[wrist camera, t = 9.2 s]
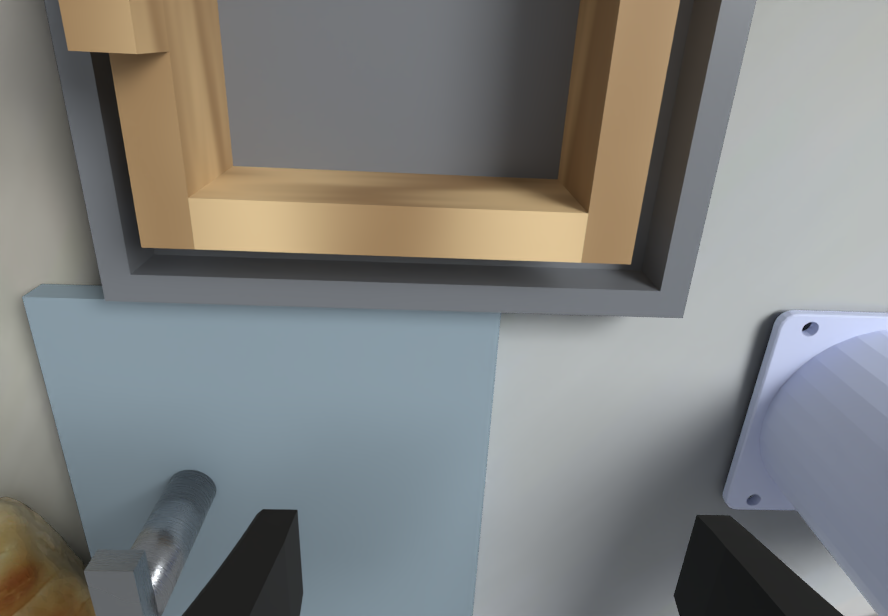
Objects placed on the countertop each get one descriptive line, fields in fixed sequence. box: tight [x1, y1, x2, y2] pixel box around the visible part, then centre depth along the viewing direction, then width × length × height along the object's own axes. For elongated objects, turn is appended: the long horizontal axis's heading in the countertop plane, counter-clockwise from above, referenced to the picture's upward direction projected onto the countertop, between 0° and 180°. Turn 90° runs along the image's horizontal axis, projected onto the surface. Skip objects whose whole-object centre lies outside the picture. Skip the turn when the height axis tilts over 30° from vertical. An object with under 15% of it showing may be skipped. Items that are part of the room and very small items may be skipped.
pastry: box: [0, 497, 96, 616], centre depth 22 cm, size 9×7×4 cm
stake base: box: [22, 284, 501, 616], centre depth 21 cm, size 14×14×1 cm
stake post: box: [84, 470, 216, 616], centre depth 18 cm, size 2×4×5 cm, turn 177°
